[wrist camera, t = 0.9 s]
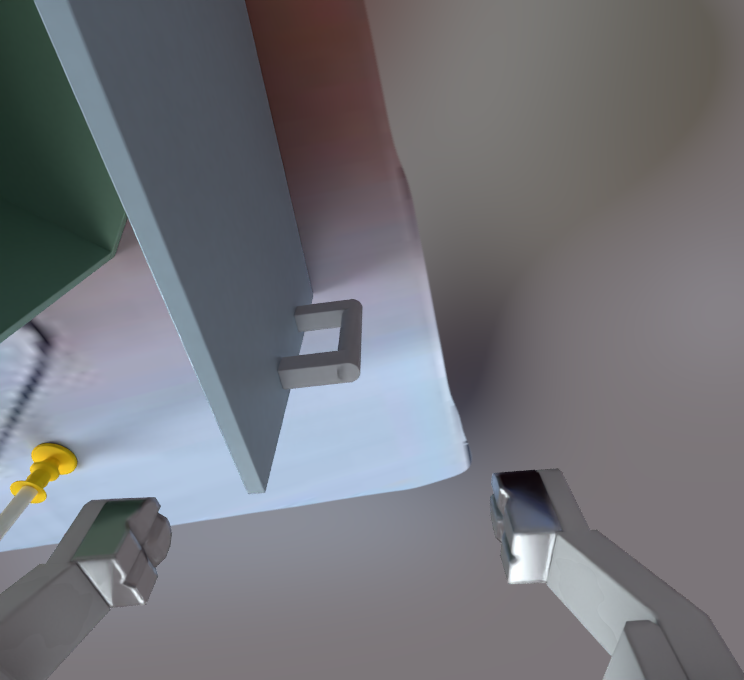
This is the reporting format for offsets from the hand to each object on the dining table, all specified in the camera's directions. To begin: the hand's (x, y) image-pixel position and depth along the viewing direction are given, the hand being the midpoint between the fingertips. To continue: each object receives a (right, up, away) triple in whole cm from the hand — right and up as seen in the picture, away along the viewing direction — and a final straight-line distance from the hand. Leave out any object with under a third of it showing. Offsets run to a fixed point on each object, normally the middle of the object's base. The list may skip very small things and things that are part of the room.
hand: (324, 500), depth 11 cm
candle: (-39, -11, +45) cm, 61 cm away
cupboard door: (-4, +19, +26) cm, 33 cm away
